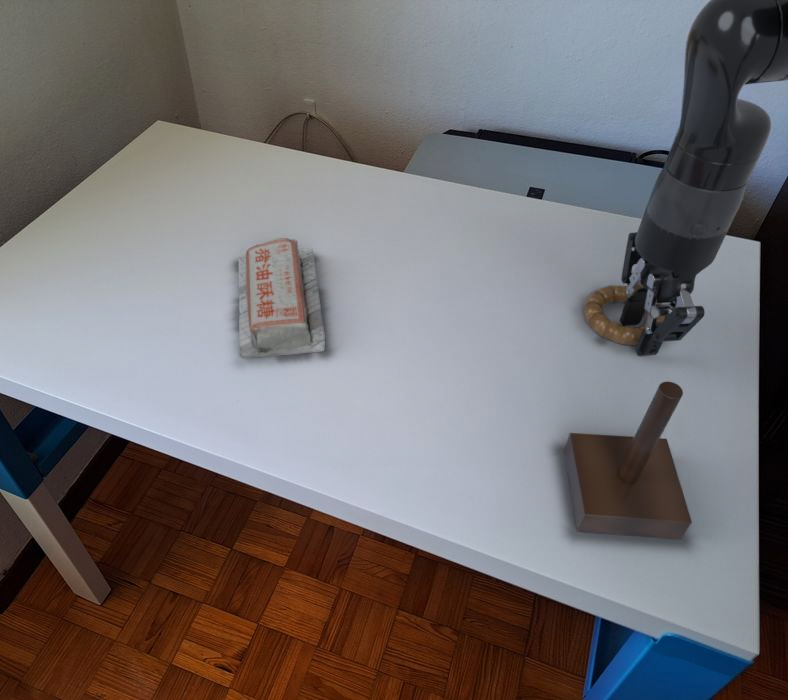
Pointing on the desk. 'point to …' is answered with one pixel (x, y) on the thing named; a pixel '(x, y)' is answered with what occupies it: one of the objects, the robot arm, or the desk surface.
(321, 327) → the packaged product
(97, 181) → the desk surface
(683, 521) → the peg stand
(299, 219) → the desk surface
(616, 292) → the segmented donut ring
